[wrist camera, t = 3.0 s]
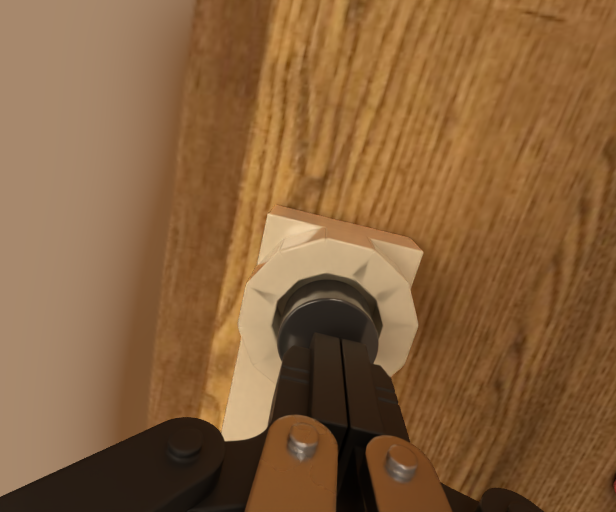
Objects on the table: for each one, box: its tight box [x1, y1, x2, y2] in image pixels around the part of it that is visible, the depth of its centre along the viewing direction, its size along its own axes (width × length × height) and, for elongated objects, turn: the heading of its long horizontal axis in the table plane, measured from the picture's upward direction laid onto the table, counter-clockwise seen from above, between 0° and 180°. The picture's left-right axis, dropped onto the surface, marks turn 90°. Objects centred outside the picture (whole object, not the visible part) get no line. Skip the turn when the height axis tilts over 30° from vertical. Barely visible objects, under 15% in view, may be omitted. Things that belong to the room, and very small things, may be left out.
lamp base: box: [221, 205, 423, 441], centre depth 16 cm, size 12×6×4 cm, turn 166°
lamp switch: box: [277, 279, 379, 364], centre depth 12 cm, size 3×3×2 cm
